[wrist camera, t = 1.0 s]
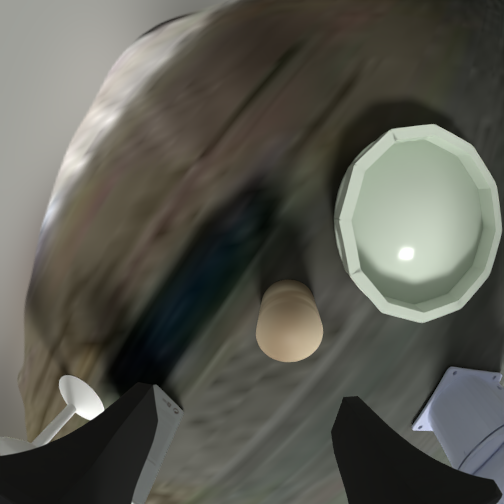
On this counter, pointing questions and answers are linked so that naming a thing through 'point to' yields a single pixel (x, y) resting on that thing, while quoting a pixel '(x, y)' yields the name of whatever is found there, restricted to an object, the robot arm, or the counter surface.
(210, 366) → the counter surface
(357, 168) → the round tray
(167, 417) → the skincare box
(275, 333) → the maple cylinder
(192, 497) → the counter surface
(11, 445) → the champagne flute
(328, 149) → the counter surface
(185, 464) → the counter surface
